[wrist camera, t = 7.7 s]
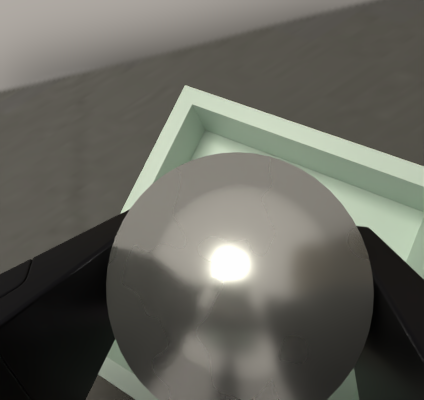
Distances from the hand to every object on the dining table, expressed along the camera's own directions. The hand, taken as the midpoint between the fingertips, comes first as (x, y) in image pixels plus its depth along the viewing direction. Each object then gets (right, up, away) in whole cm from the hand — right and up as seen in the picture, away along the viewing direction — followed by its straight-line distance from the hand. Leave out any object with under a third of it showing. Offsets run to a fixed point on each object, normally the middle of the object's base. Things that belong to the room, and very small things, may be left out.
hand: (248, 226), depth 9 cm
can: (+1, -3, +6) cm, 7 cm away
